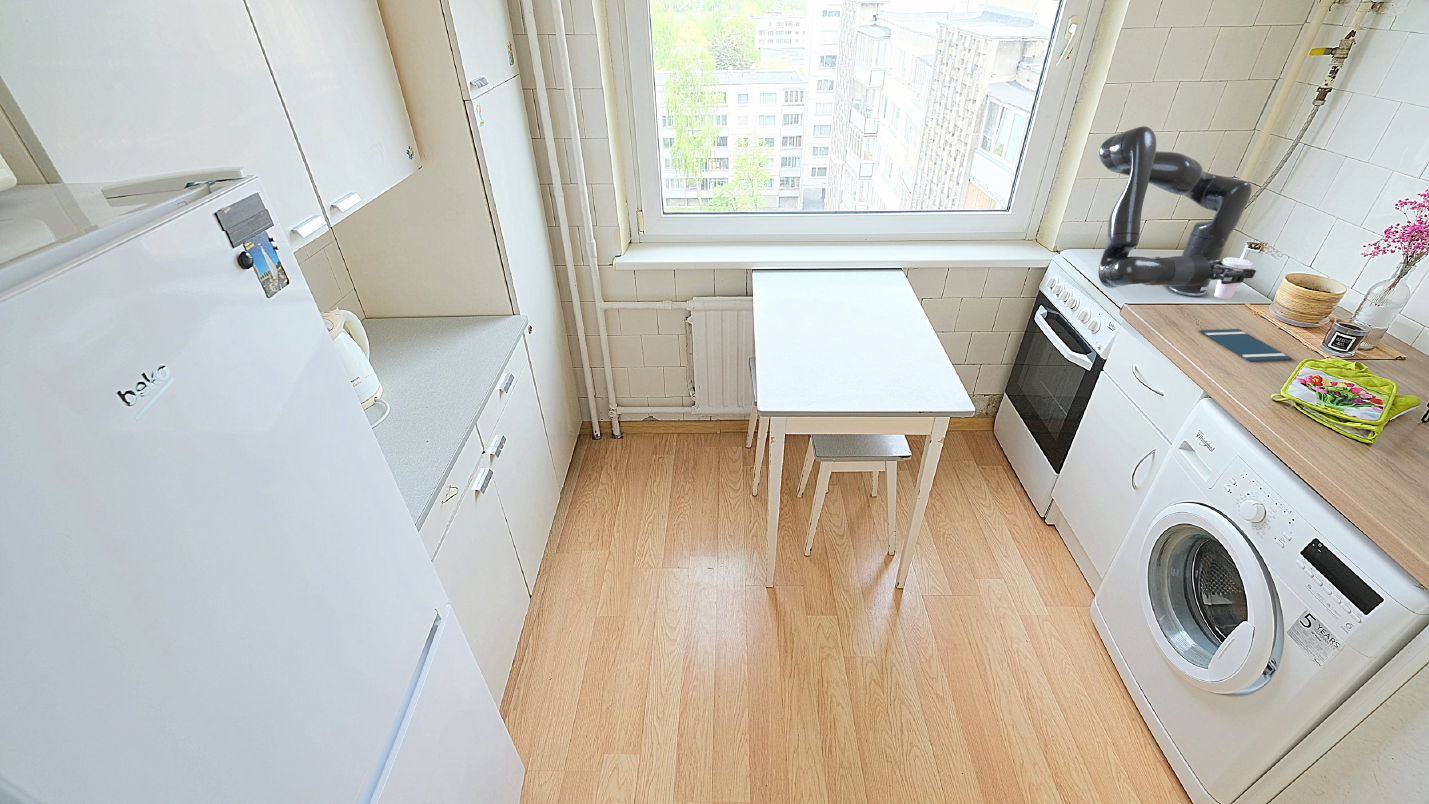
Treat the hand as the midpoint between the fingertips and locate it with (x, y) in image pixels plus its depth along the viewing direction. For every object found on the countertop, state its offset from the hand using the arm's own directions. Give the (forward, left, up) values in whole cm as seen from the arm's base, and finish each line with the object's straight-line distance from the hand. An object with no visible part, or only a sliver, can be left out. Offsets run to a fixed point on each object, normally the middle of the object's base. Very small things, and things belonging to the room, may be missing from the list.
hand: (1243, 269), depth 165 cm
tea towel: (+12, -3, -16) cm, 20 cm away
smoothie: (0, -2, -8) cm, 8 cm away
